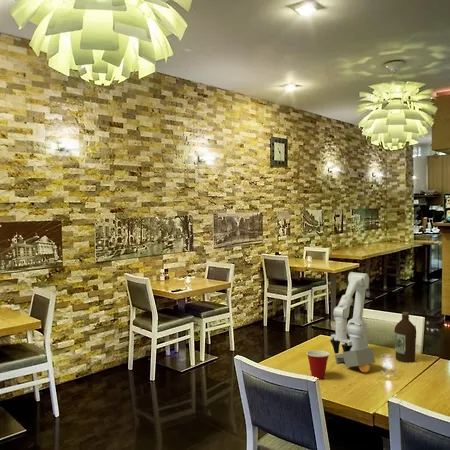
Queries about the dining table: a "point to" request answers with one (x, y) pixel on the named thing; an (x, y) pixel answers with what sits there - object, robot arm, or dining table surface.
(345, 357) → the grey open rectangular frame
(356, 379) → the dining table surface
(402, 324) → the olive oil
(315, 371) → the plastic cup
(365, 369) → the ball
